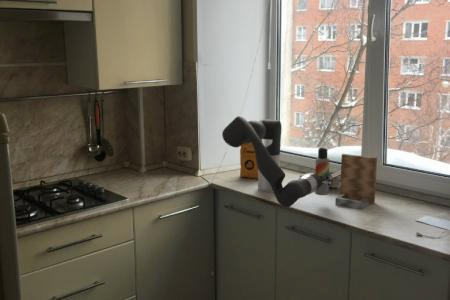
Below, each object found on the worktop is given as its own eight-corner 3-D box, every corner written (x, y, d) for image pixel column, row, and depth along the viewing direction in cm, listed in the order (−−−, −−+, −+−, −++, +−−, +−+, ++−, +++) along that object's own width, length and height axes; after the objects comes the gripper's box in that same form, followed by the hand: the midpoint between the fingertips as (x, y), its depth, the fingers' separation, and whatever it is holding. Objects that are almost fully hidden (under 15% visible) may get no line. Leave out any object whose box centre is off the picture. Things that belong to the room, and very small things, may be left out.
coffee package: (259, 180, 267) (260, 137, 263) (237, 178, 272) (237, 135, 268) (266, 176, 276) (267, 134, 271) (245, 173, 281) (245, 133, 277)
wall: (325, 201, 245) (350, 181, 243) (312, 186, 246) (338, 166, 243) (324, 197, 261) (348, 178, 259) (313, 183, 262) (337, 164, 260)
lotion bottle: (313, 192, 227) (314, 146, 223) (326, 191, 228) (327, 146, 224) (316, 195, 222) (318, 148, 218) (330, 195, 222) (331, 148, 218)
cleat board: (331, 204, 227) (333, 158, 223) (341, 197, 237) (343, 153, 233) (365, 209, 219) (368, 162, 215) (374, 202, 229) (377, 157, 225)
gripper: (291, 190, 215) (308, 181, 229) (324, 196, 208) (340, 186, 222) (291, 172, 214) (309, 164, 228) (325, 177, 206) (340, 168, 220)
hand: (324, 175), depth 225 cm, fingers closed on lotion bottle, 5 cm apart
